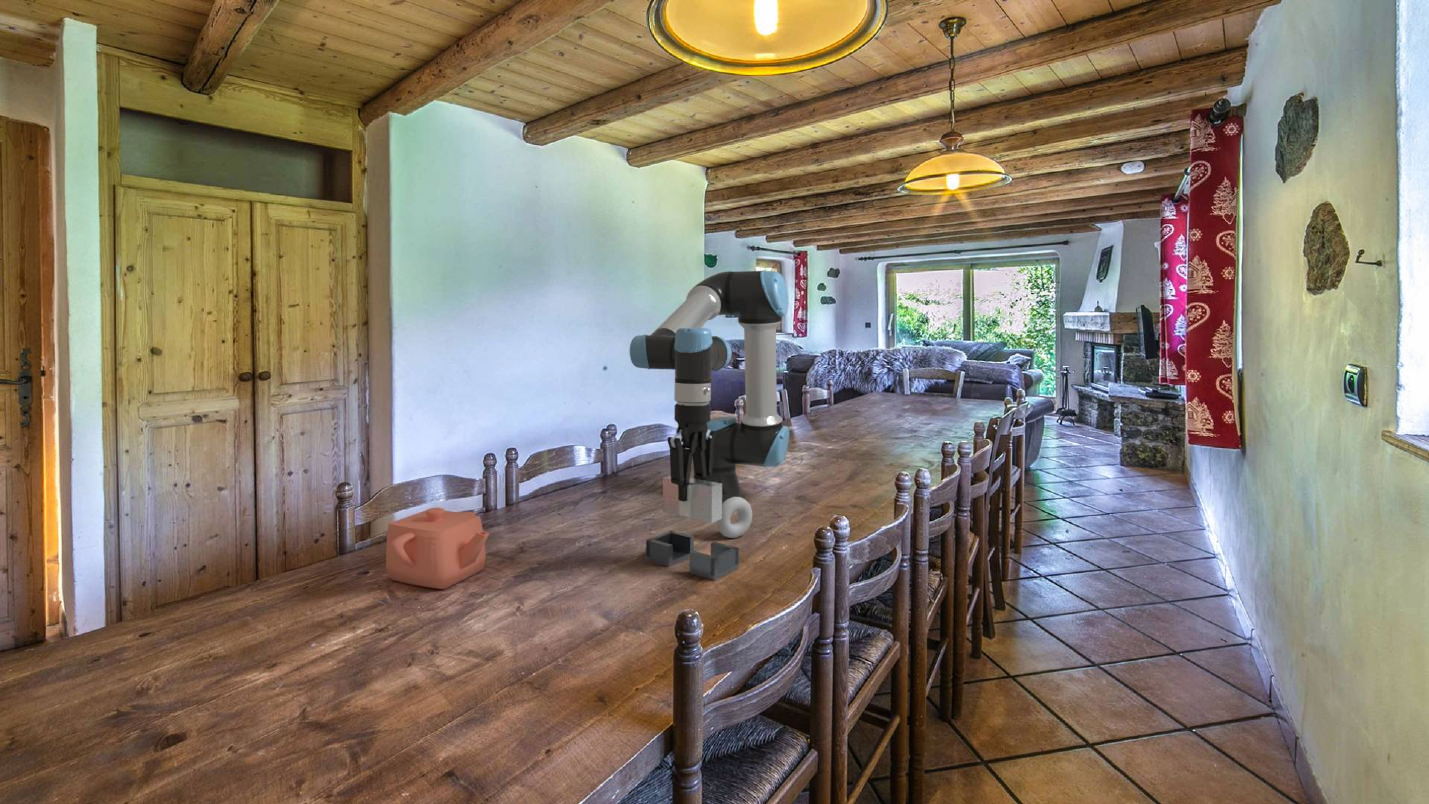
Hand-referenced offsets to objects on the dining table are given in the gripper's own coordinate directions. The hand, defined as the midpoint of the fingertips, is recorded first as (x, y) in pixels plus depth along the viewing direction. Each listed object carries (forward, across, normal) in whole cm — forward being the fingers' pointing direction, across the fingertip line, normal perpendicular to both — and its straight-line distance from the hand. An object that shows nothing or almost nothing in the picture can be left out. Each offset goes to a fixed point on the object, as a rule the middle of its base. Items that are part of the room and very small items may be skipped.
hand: (691, 513), depth 143 cm
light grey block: (0, 0, 0) cm, 1 cm away
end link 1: (+11, 0, +6) cm, 13 cm away
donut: (+11, +20, +3) cm, 23 cm away
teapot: (+12, -36, +34) cm, 51 cm away
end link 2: (+11, 0, -6) cm, 13 cm away
